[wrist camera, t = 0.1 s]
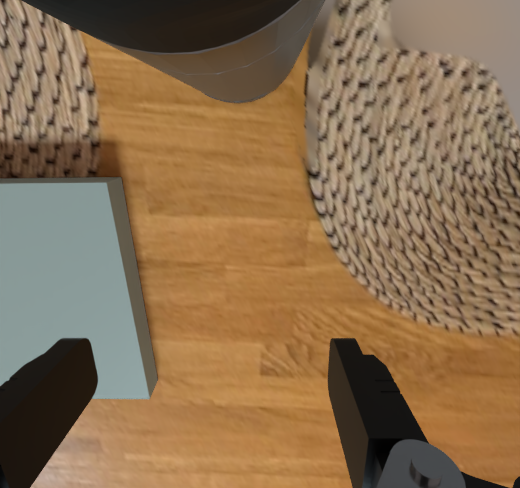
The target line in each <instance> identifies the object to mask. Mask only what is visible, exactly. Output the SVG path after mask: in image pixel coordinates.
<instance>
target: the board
mask: <svg viewBox="0 0 520 488" xmlns="http://www.w3.org/2000/svg"><path fill="white" fill-rule="evenodd" d="M62 338H87V339H89V341H90V342H91V346H92V351H93V355H94V360H95V365H96V369H97V374H98V384H97V389H96V391H95V394H94V396H93V397H92V399H150V397H151V395H152V392H153V390H154V388H155V385H156V383H157V381H158V378H157V372H156V367H155V361H154V356H153V350H152V345H151V339H150V334H149V328H148V322H147V317H146V311H145V306H144V300H143V295H142V289H141V284H140V278H139V273H138V267H137V262H136V256H135V250H134V245H133V239H132V234H131V228H130V223H129V217H128V212H127V206H126V201H125V195H124V190H123V184H122V179H121V177H88V178H0V386H1V385H2V384H3V383H5V382H6V381H9V379H10V377H11V376H12V375H13V374H15V373H16V372H17V371H18V370H19V369H20V368H21V367H22V366H23V365H25V364H26V363H28V362H30V361H32V360H33V359H35V358H37V357H38V356H40V355H42V354H44V353H45V352H46V351H48V350H49V349H50V348H51V347H52V346H53V345H54V344H55V343H56V342H57V341H58V340H60V339H62Z"/></svg>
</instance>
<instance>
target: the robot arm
mask: <svg viewBox="0 0 520 488" xmlns="http://www.w3.org/2000/svg"><path fill="white" fill-rule="evenodd" d="M22 1H24V2H26V3H27V4H29V5H31V6H33V7H35V8H37V9H39V10H41V11H43V12H45V13H47V14H49V15H51V16H53V17H55V18H56V19H58V20H60V21H62V22H64V23H66V24H68V25H70V26H72V27H74V28H76V29H78V30H80V31H82V32H85V33H87V34H89V35H91V36H93V37H94V38H96V39H98V40H100V41H102V42H104V43H106V44H108V45H110V46H112V47H114V48H116V49H118V50H120V51H122V52H124V53H126V54H128V55H130V56H132V57H134V58H136V59H138V60H140V61H142V62H144V63H146V64H148V65H150V66H152V67H154V68H156V69H158V70H160V71H162V72H164V73H166V74H168V75H170V76H172V77H174V78H176V79H178V80H180V81H182V82H184V83H186V84H188V85H190V86H191V87H193V88H195V89H197V90H199V91H201V92H203V93H205V95H207V96H209V97H212V98H214V99H217V100H220V101H224V102H230V103H246V102H252V101H255V100H257V99H260V98H263V97H265V96H266V95H268V94H269V93H271V92H272V91H274V90H275V89H276V88H277V87H278V86H279V85H280V84H281V83H282V82H283V81H284V80H285V79H286V77H287V76H288V74H289V72H290V71H291V69H292V68H293V66H294V64H295V62H296V60H297V58H298V56H299V54H300V52H301V50H302V48H303V46H304V44H305V42H306V40H307V37H308V35H309V33H310V31H311V29H312V27H313V25H314V23H315V21H316V19H317V17H318V15H319V12H320V10H321V8H322V6H323V4H324V2H325V0H22ZM97 384H98V374H97V369H96V365H95V360H94V355H93V351H92V346H91V342H90V341H89V339H87V338H62V339H60V340H58V341H57V342H56V343H55V344H54V345H53V346H52V347H51V348H50V349H49V350H48V351H46V352H45V353H44V354H42V355H40V356H38V357H37V358H35V359H33V360H32V361H30V362H28V363H26V364H25V365H23V366H22V367H21V368H20V369H19V370H18V371H17V372H16V373H15V374H13V375H12V376H11V377H10V379H9V381H6V382H5V383H3V384H2V385H1V386H0V488H30V487H31V485H32V484H33V483H34V481H35V480H36V478H37V477H38V475H39V474H40V472H41V471H42V470H43V468H44V467H45V465H46V464H47V462H48V461H49V459H50V458H51V457H52V455H53V454H54V452H55V451H56V449H57V448H58V446H59V445H60V444H61V442H62V441H63V439H64V438H65V436H66V435H67V433H68V432H69V431H70V429H71V428H72V426H73V425H74V423H75V422H76V420H77V419H78V418H79V416H80V415H81V413H82V412H83V410H84V409H85V407H86V406H87V405H88V403H89V402H90V400H91V399H92V397H93V396H94V394H95V391H96V389H97ZM328 390H329V397H330V401H331V405H332V409H333V412H334V416H335V420H336V424H337V428H338V432H339V436H340V440H341V444H342V448H343V451H344V455H345V459H346V463H347V467H348V471H349V475H350V479H351V483H352V487H353V488H508V487H505V486H501V485H498V484H495V483H492V482H488V481H485V480H482V479H479V478H475V477H473V476H470V475H467V474H465V473H463V472H461V471H460V470H459V468H458V467H457V466H456V464H455V463H454V462H453V461H452V460H451V459H450V458H449V457H448V456H447V455H446V454H445V453H444V452H442V451H441V450H439V449H438V448H436V447H434V446H433V445H431V444H429V443H428V441H427V439H426V437H425V436H424V434H423V432H422V430H421V428H420V426H419V425H418V423H417V421H416V419H415V417H414V416H413V414H412V412H411V410H410V408H409V407H408V405H407V403H406V401H405V399H404V397H403V396H402V394H400V390H399V388H398V387H397V385H396V383H395V382H394V379H393V378H392V376H391V374H390V372H389V370H388V368H387V367H386V366H385V365H384V364H383V363H382V362H381V361H380V360H379V359H378V358H376V357H375V356H374V355H363V354H362V351H361V349H360V347H359V345H358V343H357V341H356V339H354V338H332V339H331V341H330V352H329V367H328ZM513 488H520V477H518V478H517V479H516V480H515V482H514V485H513Z"/></svg>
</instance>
